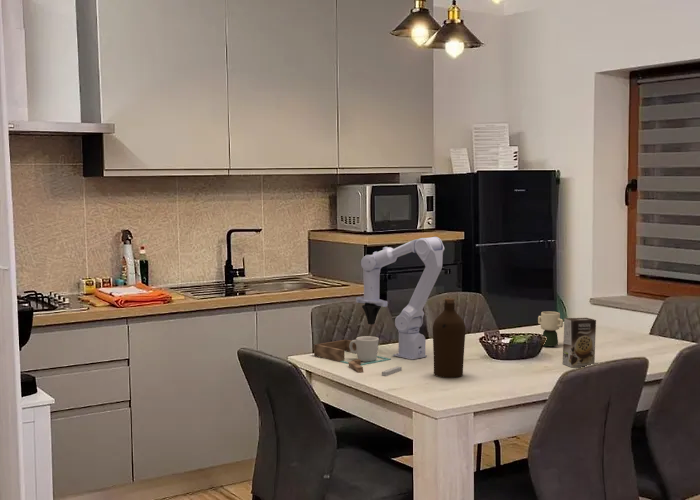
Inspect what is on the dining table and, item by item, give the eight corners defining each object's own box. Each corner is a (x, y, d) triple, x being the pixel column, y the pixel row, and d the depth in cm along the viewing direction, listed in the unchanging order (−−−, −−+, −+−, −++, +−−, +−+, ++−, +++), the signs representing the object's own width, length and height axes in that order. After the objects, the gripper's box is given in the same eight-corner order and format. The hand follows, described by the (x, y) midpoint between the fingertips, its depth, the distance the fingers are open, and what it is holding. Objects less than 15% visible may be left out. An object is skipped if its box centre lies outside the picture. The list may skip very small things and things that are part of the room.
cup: (344, 360, 311) (344, 338, 311) (354, 356, 318) (354, 334, 318) (372, 364, 306) (372, 341, 306) (382, 359, 314) (382, 337, 313)
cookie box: (571, 367, 303) (572, 320, 301) (562, 363, 309) (563, 317, 307) (595, 366, 305) (596, 319, 304) (585, 362, 311) (586, 316, 310)
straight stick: (386, 377, 288) (386, 372, 288) (381, 376, 289) (381, 371, 289) (401, 371, 296) (401, 366, 296) (397, 371, 297) (397, 366, 297)
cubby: (373, 356, 320) (373, 345, 319) (341, 362, 309) (341, 350, 309) (345, 350, 330) (345, 339, 330) (314, 355, 320) (314, 344, 320)
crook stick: (370, 370, 294) (369, 365, 294) (358, 372, 293) (358, 368, 293) (359, 363, 304) (358, 359, 304) (348, 366, 303) (347, 361, 303)
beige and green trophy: (567, 347, 339) (568, 313, 338) (556, 349, 334) (557, 315, 333) (542, 343, 347) (543, 310, 345) (532, 345, 342) (533, 311, 341)
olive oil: (468, 378, 286) (469, 300, 284) (435, 378, 285) (436, 301, 283) (460, 371, 296) (462, 296, 294) (429, 371, 295) (430, 296, 293)
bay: (390, 359, 314) (390, 358, 314) (357, 366, 303) (358, 365, 303) (372, 355, 320) (372, 354, 320) (340, 361, 309) (340, 361, 309)
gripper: (350, 286, 330) (349, 322, 331) (377, 290, 320) (377, 327, 321) (363, 284, 335) (363, 320, 336) (391, 288, 324) (391, 325, 326)
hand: (371, 324), depth 329 cm, fingers closed
